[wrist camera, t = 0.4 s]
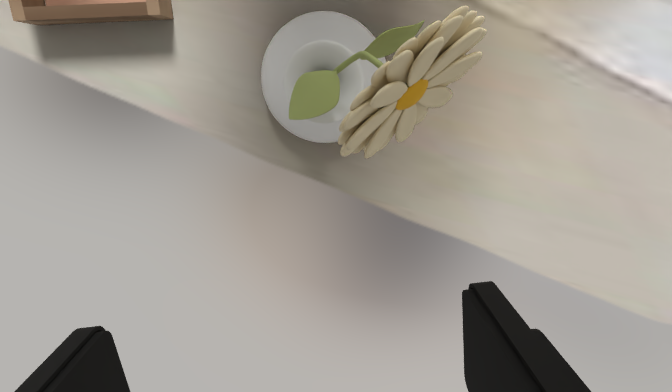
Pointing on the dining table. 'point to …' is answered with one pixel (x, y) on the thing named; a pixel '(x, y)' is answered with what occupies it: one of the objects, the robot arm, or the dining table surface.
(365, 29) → the flower in vase
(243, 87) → the dining table surface
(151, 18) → the slot rack
